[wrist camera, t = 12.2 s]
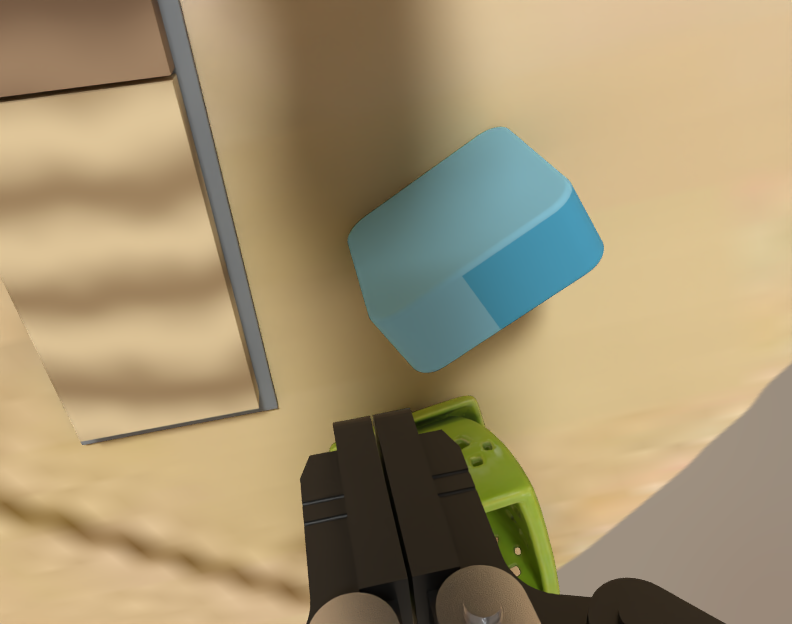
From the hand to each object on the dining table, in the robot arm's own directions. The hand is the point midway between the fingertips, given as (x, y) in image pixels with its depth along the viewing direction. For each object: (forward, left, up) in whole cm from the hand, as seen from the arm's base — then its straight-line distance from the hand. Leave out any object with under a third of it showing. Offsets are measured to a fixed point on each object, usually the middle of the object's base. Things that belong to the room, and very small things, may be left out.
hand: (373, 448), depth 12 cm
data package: (+8, +8, -29) cm, 31 cm away
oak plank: (+9, -12, -28) cm, 32 cm away
